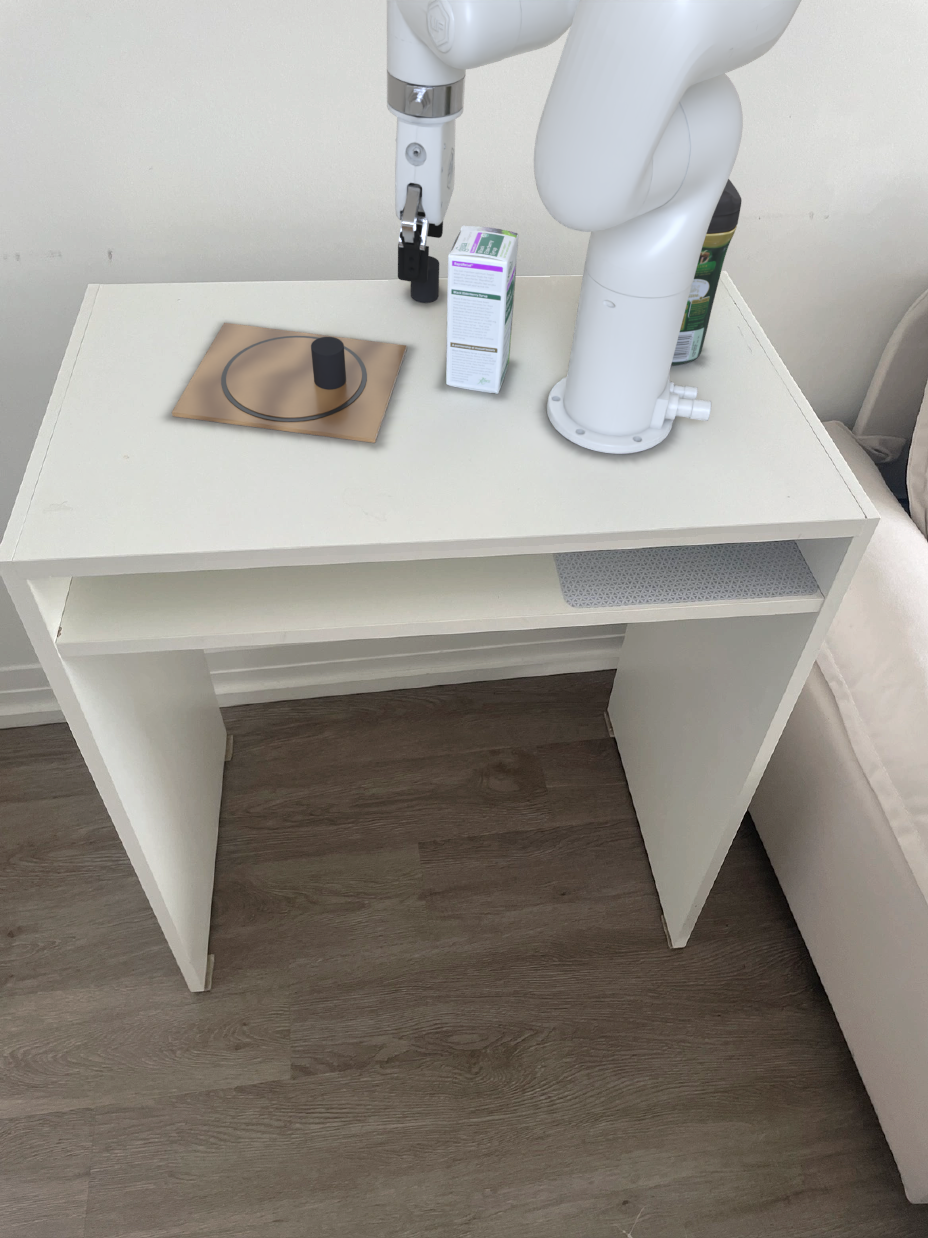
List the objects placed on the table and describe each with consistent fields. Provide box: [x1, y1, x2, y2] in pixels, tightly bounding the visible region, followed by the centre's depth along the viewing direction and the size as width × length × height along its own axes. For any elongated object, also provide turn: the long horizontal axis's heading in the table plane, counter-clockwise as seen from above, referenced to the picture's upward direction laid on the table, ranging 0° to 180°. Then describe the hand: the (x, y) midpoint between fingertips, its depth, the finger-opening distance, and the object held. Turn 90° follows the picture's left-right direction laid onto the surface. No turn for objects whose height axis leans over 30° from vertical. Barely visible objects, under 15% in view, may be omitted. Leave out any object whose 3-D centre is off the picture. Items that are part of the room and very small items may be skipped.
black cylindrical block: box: [311, 337, 346, 390], centre depth 90 cm, size 3×3×4 cm
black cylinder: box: [410, 255, 440, 304], centre depth 102 cm, size 3×3×4 cm
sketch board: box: [171, 322, 407, 444], centre depth 92 cm, size 20×16×1 cm
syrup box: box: [445, 224, 519, 394], centre depth 89 cm, size 6×6×14 cm
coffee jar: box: [671, 178, 743, 366], centre depth 93 cm, size 10×8×19 cm
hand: (420, 256), depth 101 cm, fingers open, 9 cm apart
